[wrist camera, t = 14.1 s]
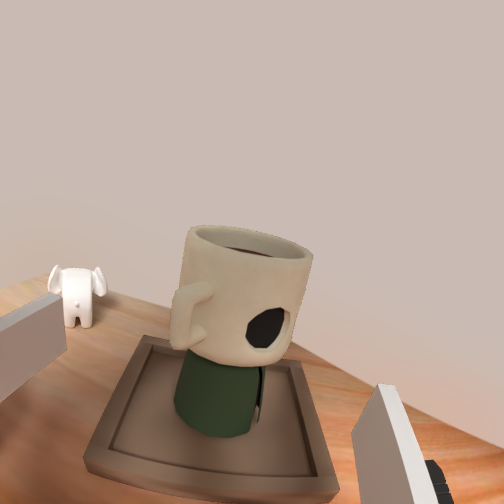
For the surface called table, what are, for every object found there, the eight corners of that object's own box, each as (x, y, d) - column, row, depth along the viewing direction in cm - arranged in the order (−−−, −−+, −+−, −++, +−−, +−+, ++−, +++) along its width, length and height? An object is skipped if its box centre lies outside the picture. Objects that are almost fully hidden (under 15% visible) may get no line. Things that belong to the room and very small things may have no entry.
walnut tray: (295, 375, 28) (299, 360, 28) (329, 502, 14) (340, 489, 13) (143, 350, 27) (143, 334, 26) (88, 472, 12) (83, 456, 12)
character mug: (211, 482, 14) (258, 279, 10) (127, 419, 17) (131, 228, 14) (289, 399, 23) (337, 249, 20) (220, 363, 26) (248, 222, 23)
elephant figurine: (104, 303, 33) (106, 257, 32) (110, 339, 27) (111, 284, 25) (52, 301, 30) (51, 254, 28) (47, 338, 23) (42, 282, 22)
